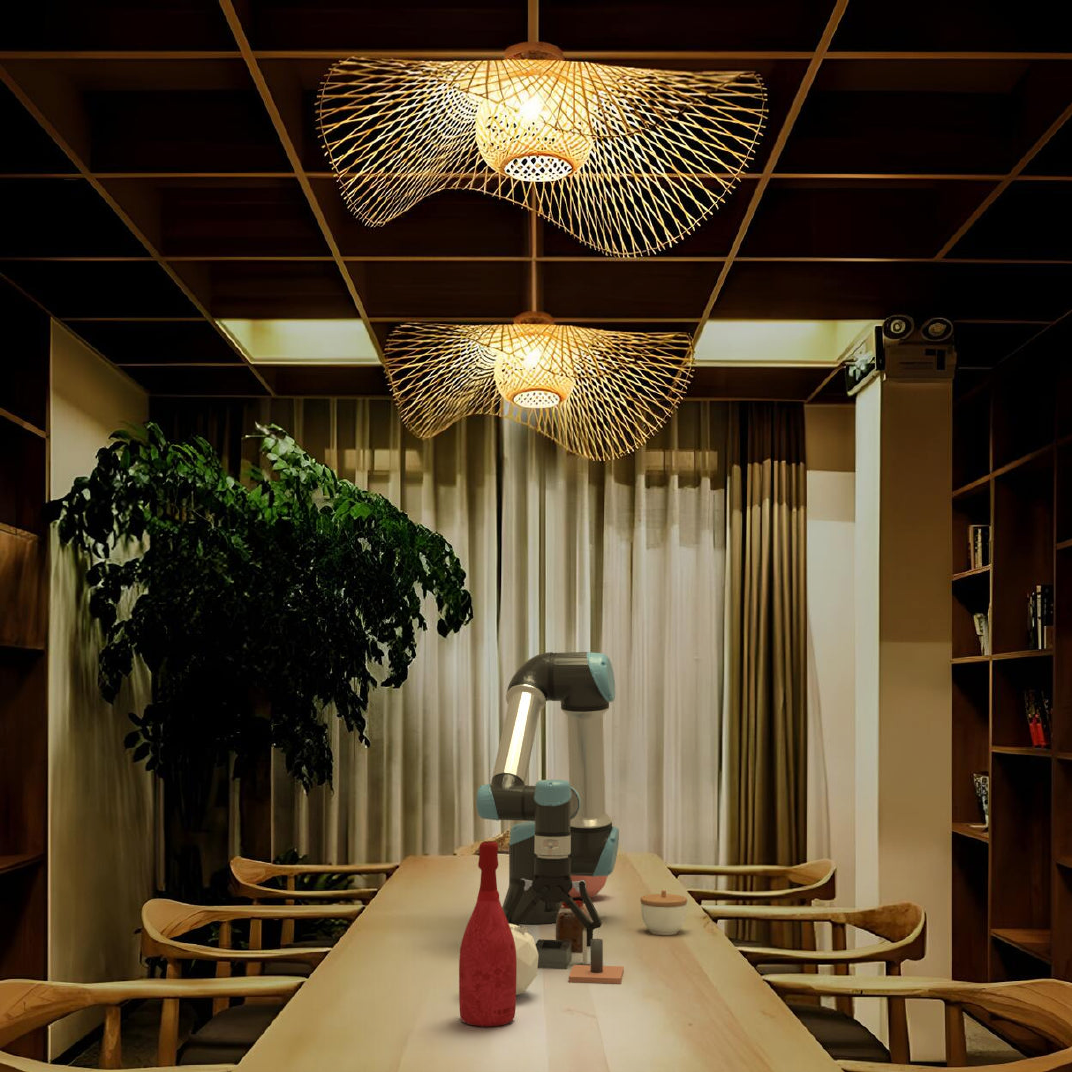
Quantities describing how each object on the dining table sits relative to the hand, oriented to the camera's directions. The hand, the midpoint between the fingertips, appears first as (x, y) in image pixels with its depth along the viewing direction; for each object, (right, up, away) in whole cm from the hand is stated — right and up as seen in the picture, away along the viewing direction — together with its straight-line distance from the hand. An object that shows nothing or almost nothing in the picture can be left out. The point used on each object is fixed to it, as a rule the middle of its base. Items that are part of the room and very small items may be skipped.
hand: (552, 961), depth 257 cm
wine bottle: (-12, +5, -44) cm, 45 cm away
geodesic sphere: (-9, +3, -27) cm, 28 cm away
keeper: (+9, +1, -12) cm, 15 cm away
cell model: (+6, -9, +73) cm, 74 cm away
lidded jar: (+26, -4, +31) cm, 41 cm away
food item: (+5, -2, +16) cm, 17 cm away
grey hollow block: (0, 0, 0) cm, 0 cm away
